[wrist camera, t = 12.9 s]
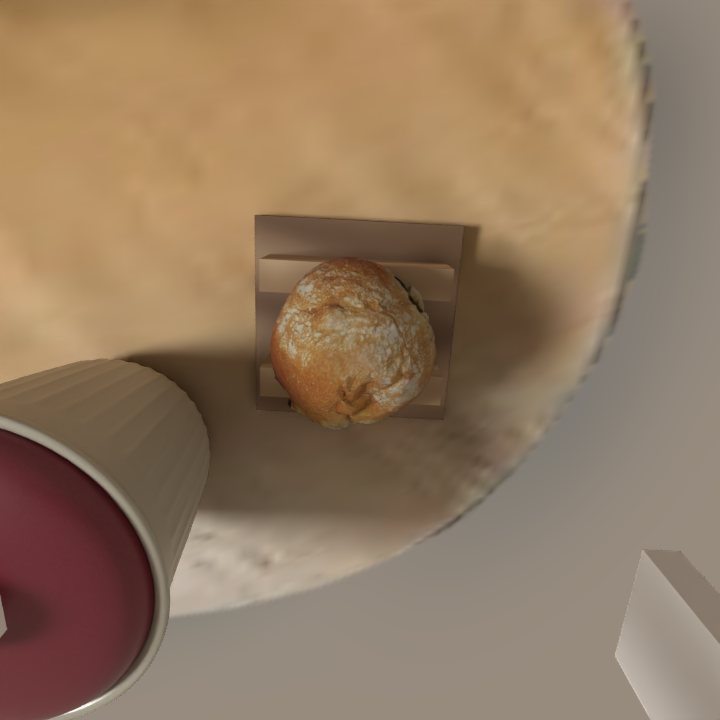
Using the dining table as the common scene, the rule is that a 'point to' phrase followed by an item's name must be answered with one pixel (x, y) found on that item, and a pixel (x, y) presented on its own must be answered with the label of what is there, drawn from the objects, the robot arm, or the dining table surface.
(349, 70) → the dining table surface
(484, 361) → the dining table surface
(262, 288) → the display stand
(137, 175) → the dining table surface
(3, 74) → the dining table surface
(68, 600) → the canister
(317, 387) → the bread roll
